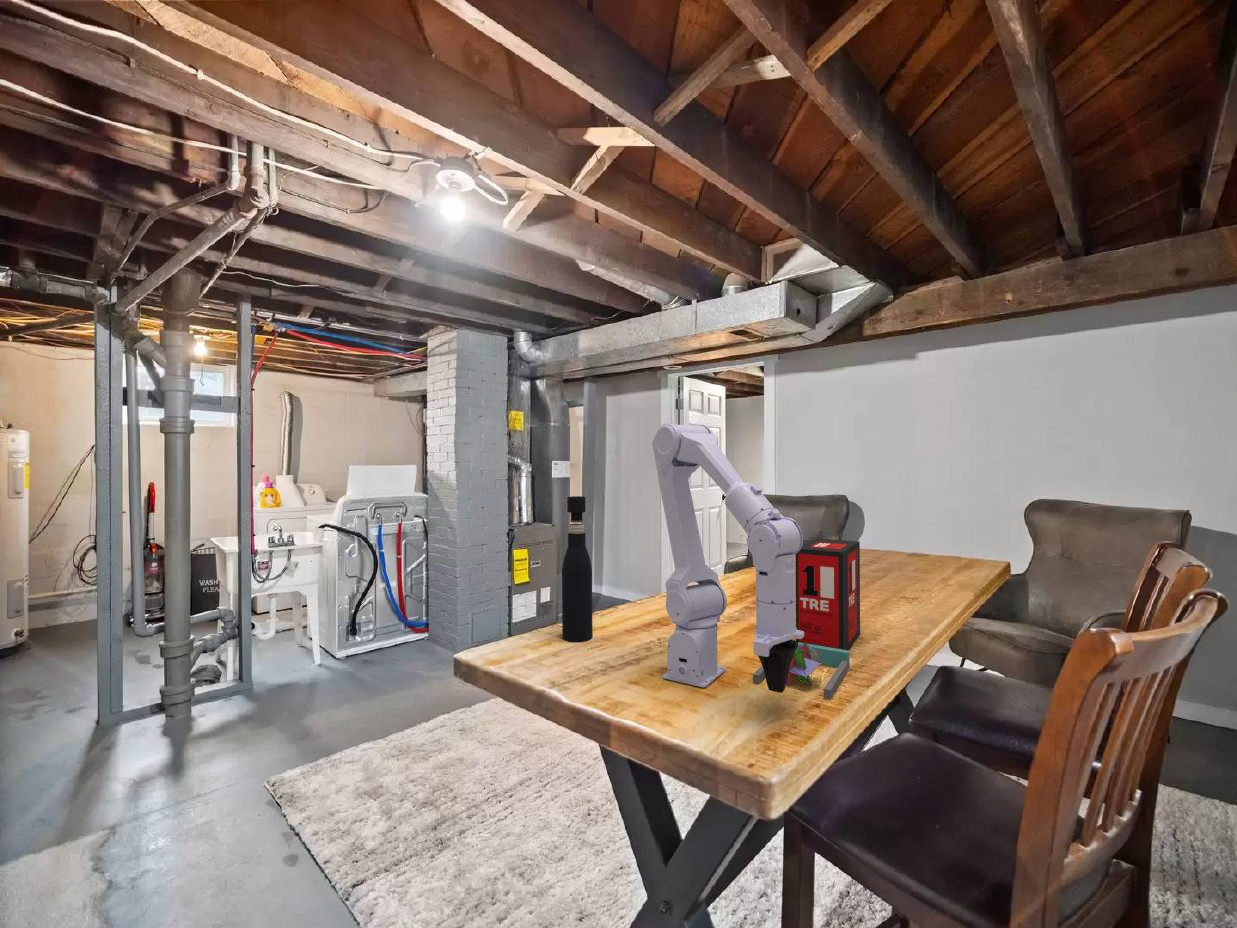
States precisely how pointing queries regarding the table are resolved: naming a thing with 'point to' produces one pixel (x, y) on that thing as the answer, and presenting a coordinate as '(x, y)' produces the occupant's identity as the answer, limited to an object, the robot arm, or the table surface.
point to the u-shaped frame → (828, 658)
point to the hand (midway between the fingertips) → (776, 690)
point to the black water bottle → (576, 579)
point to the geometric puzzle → (803, 665)
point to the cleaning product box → (828, 593)
